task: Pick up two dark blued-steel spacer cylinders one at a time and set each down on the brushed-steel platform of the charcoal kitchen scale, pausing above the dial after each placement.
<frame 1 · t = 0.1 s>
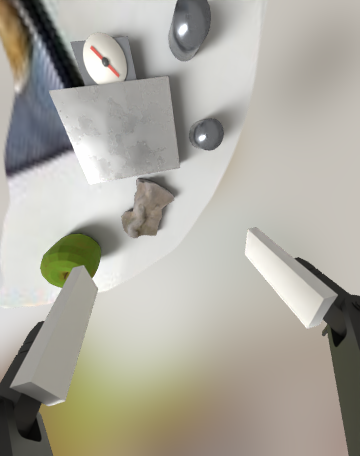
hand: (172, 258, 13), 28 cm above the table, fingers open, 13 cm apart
platform: (125, 135, 29), point 4 cm above the table, slide at -0.7 cm, touching scale
apple: (81, 247, 42), on the table
spacer b: (200, 135, 34), on the table
spacer a: (183, 40, 27), on the table
stone: (146, 207, 41), on the table
scale: (127, 135, 32), on the table
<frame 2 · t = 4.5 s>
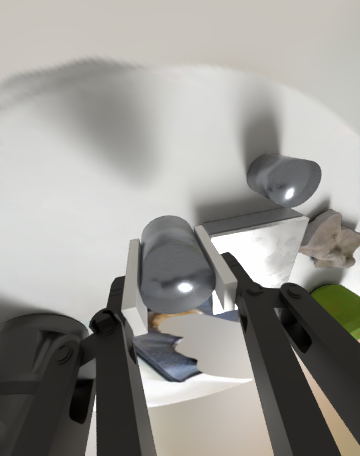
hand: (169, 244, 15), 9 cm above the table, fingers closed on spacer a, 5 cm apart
platform: (252, 272, 27), point 4 cm above the table, slide at -0.7 cm, touching scale
apple: (318, 292, 42), on the table
spacer b: (264, 173, 22), on the table
spacer a: (167, 238, 15), point 8 cm above the table, touching gripper
stone: (318, 237, 32), on the table
scale: (241, 257, 30), on the table
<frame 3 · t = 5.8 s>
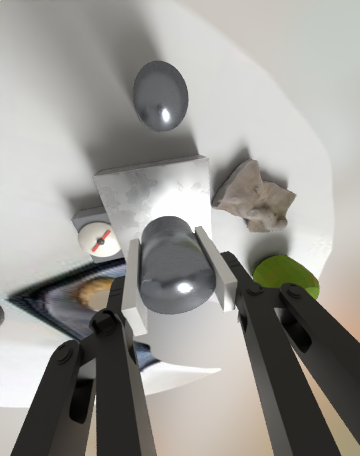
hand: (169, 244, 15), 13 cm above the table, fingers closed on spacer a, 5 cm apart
platform: (165, 229, 24), point 4 cm above the table, slide at -0.7 cm, touching scale
apple: (267, 266, 40), on the table
spacer b: (157, 108, 20), on the table
spacer a: (167, 238, 15), point 12 cm above the table, touching gripper
stone: (249, 198, 29), on the table
scale: (162, 218, 27), on the table
when the fingers open (5 cm above the table, at t = 7.4 s): spacer a stays where it is, resting on platform.
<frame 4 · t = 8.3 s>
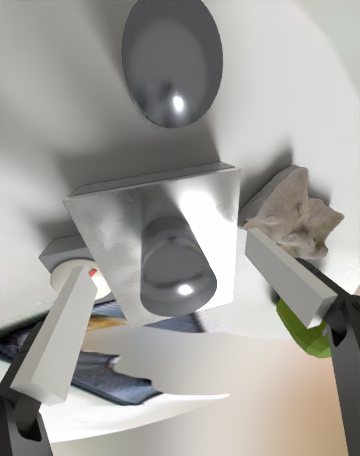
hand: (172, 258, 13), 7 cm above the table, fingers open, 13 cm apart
platform: (173, 264, 17), point 4 cm above the table, slide at -0.7 cm, touching scale, spacer a
apple: (292, 292, 33), on the table
spacer b: (162, 93, 13), on the table
spacer a: (168, 240, 15), point 4 cm above the table, touching platform
stone: (280, 216, 23), on the table
scale: (168, 244, 21), on the table
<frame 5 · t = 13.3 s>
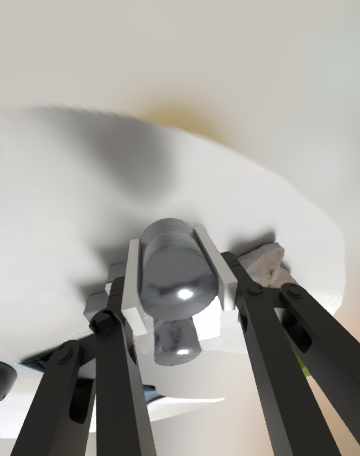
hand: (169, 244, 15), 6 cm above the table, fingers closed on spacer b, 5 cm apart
platform: (174, 314, 24), point 4 cm above the table, slide at -0.7 cm, touching scale, spacer a
spacer b: (168, 242, 15), point 5 cm above the table, touching gripper
spacer a: (171, 303, 22), point 4 cm above the table, touching platform
stone: (257, 271, 29), on the table
scale: (171, 294, 27), on the table
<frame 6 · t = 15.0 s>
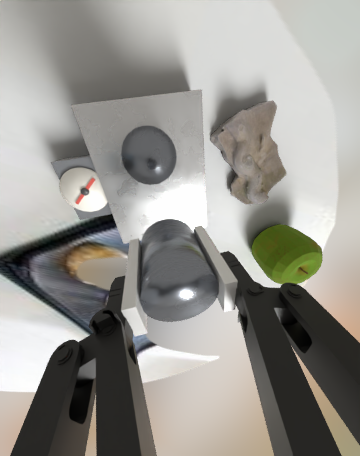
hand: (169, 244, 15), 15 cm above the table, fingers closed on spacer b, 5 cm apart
platform: (155, 180, 22), point 4 cm above the table, slide at -0.7 cm, touching scale, spacer a
apple: (267, 240, 38), on the table
spacer b: (168, 242, 15), point 14 cm above the table, touching gripper
spacer a: (150, 151, 20), point 4 cm above the table, touching platform
stone: (245, 157, 27), on the table
scale: (154, 174, 25), on the table
when the fingers open (5 cm above the table, at t = 17.0 s): spacer b stays where it is, resting on platform.
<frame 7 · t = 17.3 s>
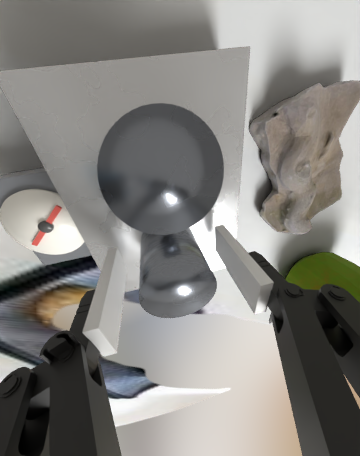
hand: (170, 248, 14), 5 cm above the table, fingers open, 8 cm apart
platform: (161, 205, 14), point 4 cm above the table, slide at -0.7 cm, touching scale, spacer a, spacer b
apple: (302, 268, 29), on the table
spacer b: (167, 240, 15), point 4 cm above the table, touching platform
spacer a: (153, 162, 12), point 4 cm above the table, touching platform
stone: (287, 166, 19), on the table
scale: (157, 192, 17), on the table
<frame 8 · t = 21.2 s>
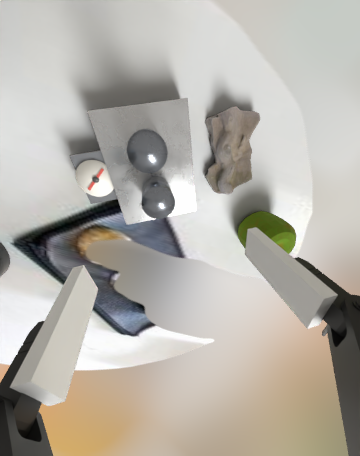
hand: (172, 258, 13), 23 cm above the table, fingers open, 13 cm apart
platform: (152, 170, 27), point 4 cm above the table, slide at -0.7 cm, touching scale, spacer a, spacer b
apple: (252, 226, 43), on the table
spacer b: (156, 190, 29), point 4 cm above the table, touching platform
spacer a: (147, 147, 25), point 4 cm above the table, touching platform
stone: (226, 153, 33), on the table
scale: (151, 166, 31), on the table
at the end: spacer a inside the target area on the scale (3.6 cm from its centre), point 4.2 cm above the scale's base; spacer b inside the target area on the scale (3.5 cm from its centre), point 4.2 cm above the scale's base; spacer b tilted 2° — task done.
